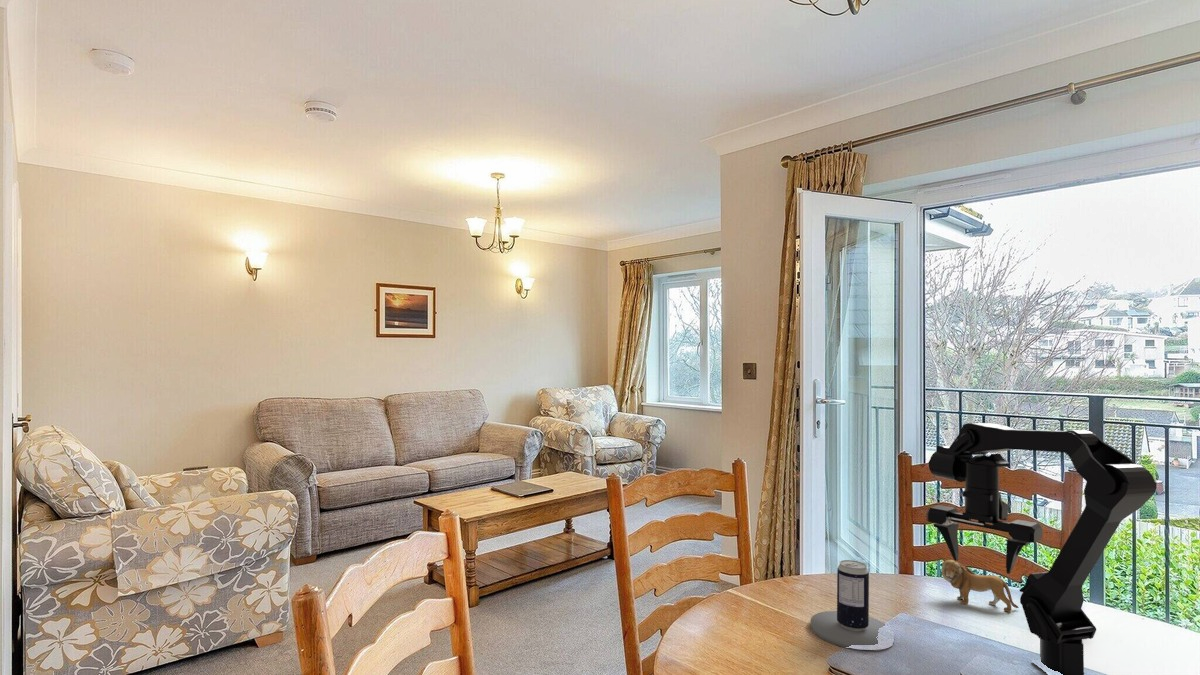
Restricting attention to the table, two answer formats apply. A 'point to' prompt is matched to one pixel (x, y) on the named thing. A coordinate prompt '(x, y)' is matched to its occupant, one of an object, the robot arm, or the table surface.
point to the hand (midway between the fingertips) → (981, 566)
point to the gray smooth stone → (843, 630)
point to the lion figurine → (975, 583)
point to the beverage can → (853, 595)
